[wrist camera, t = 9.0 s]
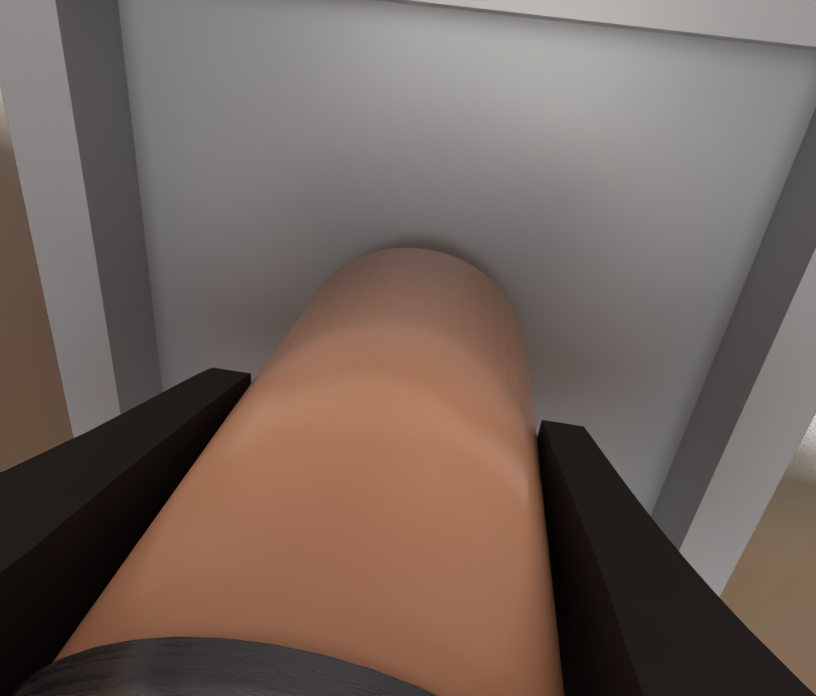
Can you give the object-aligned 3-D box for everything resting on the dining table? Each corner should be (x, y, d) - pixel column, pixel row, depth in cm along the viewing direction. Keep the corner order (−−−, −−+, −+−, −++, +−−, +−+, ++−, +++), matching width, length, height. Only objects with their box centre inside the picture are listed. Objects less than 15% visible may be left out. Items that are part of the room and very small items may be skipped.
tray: (151, 501, 17) (100, 570, 15) (65, -114, 10) (-50, -153, 8) (652, 590, 16) (677, 677, 14) (924, -24, 9) (1054, -41, 7)
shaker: (298, 439, 13) (-32, 1105, 5) (291, 229, 11) (-326, 804, 3) (514, 467, 12) (549, 1245, 4) (553, 256, 10) (762, 1026, 2)
